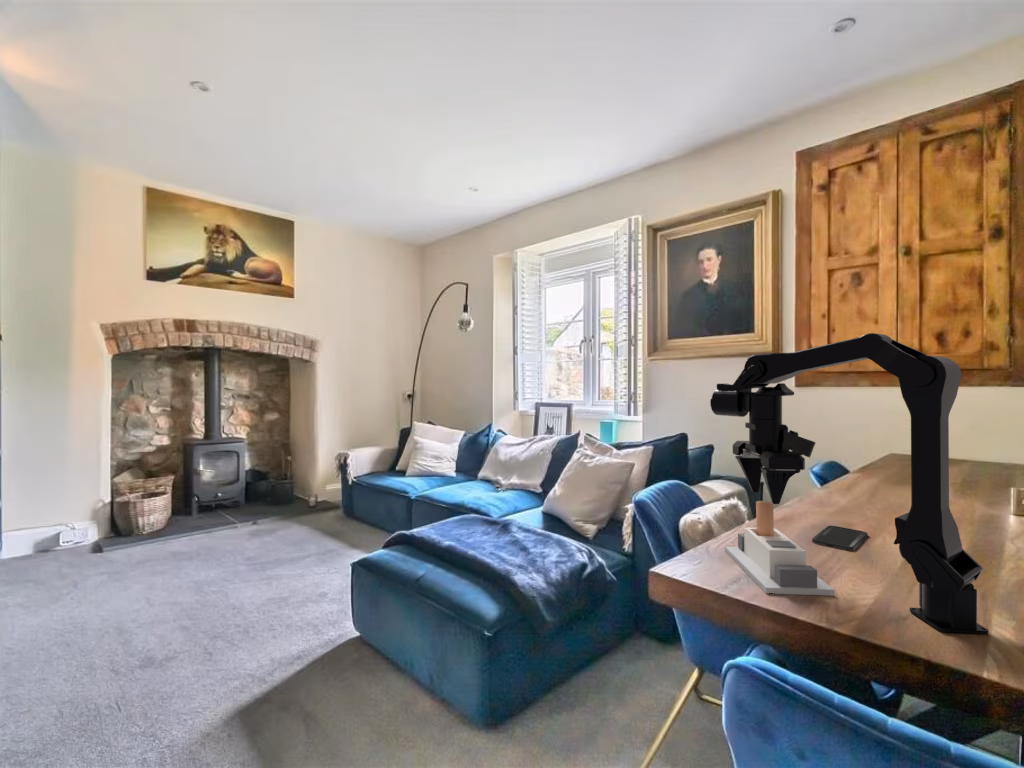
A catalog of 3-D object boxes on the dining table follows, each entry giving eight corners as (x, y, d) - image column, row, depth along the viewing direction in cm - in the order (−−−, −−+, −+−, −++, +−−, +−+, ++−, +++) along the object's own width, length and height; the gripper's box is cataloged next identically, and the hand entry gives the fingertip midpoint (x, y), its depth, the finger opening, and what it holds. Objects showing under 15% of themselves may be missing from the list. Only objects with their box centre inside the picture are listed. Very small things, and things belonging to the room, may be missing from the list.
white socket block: (805, 579, 85) (805, 549, 85) (769, 578, 85) (769, 548, 85) (775, 553, 97) (775, 527, 97) (744, 551, 98) (744, 526, 98)
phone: (868, 532, 111) (852, 547, 101) (868, 537, 111) (852, 553, 101) (829, 524, 117) (810, 539, 107) (828, 529, 117) (810, 544, 107)
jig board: (834, 595, 81) (834, 571, 80) (766, 593, 82) (766, 569, 82) (779, 552, 100) (779, 533, 100) (724, 551, 101) (724, 532, 101)
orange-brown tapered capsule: (777, 551, 93) (776, 504, 93) (761, 551, 93) (760, 504, 93) (769, 545, 96) (768, 500, 96) (754, 545, 96) (753, 500, 96)
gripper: (836, 423, 84) (836, 512, 84) (785, 414, 103) (785, 487, 103) (770, 422, 85) (769, 510, 85) (731, 414, 104) (731, 486, 104)
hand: (765, 497), depth 94 cm, fingers open, 9 cm apart
